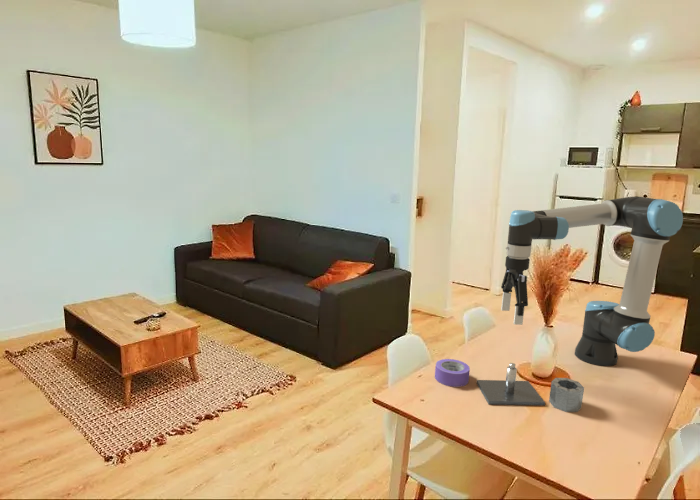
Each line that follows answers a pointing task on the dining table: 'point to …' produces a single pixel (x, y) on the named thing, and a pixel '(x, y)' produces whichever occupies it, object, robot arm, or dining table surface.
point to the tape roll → (452, 372)
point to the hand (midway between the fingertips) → (511, 317)
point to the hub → (566, 394)
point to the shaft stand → (510, 390)
